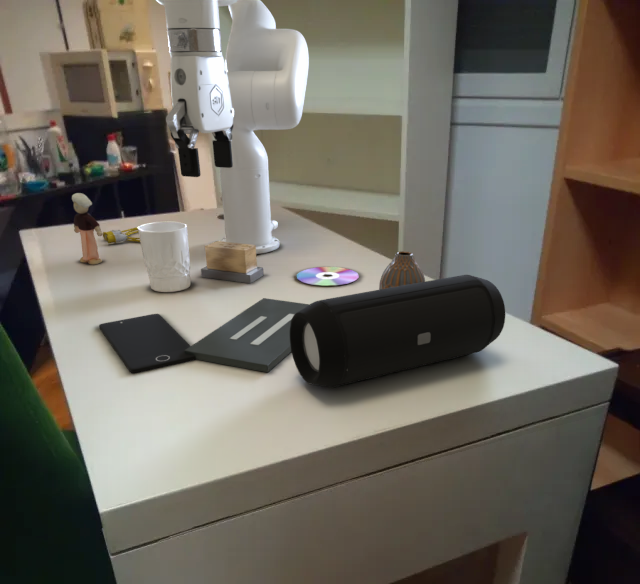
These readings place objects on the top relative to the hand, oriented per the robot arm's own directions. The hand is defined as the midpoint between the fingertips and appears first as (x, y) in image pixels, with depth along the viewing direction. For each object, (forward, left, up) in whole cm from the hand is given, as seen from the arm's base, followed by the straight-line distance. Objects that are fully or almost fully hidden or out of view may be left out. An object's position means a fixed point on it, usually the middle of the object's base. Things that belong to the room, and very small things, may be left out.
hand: (208, 171), depth 95 cm
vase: (+3, +34, -18) cm, 39 cm away
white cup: (+6, -6, -18) cm, 20 cm away
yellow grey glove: (-21, -33, -18) cm, 43 cm away
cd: (-9, +17, -18) cm, 26 cm away
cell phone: (+27, +5, -19) cm, 33 cm away
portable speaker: (+22, +39, -18) cm, 49 cm away
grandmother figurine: (-1, -29, -18) cm, 34 cm away
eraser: (-3, +1, -18) cm, 18 cm away
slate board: (+19, +19, -18) cm, 32 cm away
